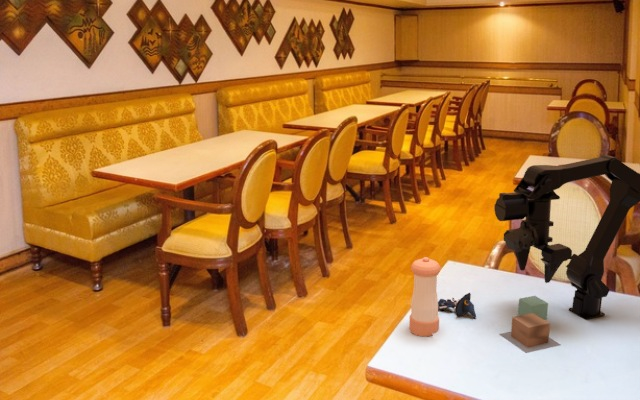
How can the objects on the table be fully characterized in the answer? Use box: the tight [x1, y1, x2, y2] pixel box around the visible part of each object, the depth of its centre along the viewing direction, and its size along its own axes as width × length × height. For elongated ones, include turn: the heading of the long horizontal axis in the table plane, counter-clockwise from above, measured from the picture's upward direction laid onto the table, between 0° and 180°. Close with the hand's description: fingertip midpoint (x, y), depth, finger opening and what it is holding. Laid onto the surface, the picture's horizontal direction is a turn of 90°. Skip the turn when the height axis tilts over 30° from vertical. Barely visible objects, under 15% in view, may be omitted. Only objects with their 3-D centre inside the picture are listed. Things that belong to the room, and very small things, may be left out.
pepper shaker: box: [408, 256, 441, 337], centre depth 149 cm, size 7×7×19 cm
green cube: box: [517, 295, 549, 320], centre depth 156 cm, size 5×5×5 cm
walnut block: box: [510, 313, 551, 347], centre depth 144 cm, size 6×6×5 cm
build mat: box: [498, 331, 562, 354], centre depth 145 cm, size 10×10×1 cm
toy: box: [438, 292, 477, 320], centre depth 161 cm, size 8×7×15 cm
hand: (534, 276), depth 154 cm, fingers open, 9 cm apart
